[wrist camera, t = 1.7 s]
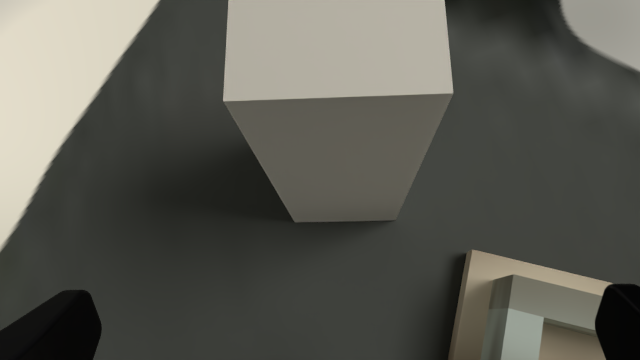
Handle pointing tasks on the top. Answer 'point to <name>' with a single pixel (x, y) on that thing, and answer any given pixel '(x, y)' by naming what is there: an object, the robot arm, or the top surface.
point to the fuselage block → (338, 98)
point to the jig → (524, 312)
